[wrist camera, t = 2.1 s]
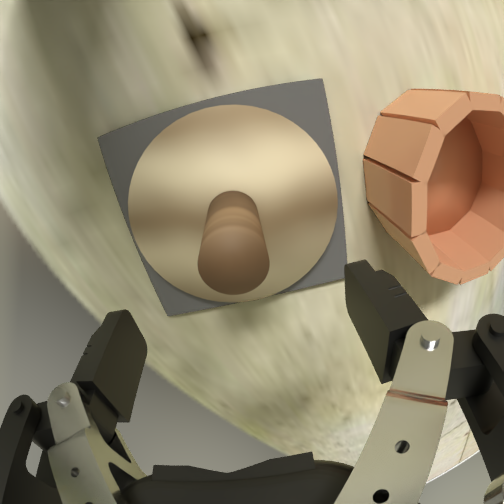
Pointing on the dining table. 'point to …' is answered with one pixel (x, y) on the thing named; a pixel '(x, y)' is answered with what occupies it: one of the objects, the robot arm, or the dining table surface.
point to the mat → (270, 98)
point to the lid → (232, 203)
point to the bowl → (441, 179)
